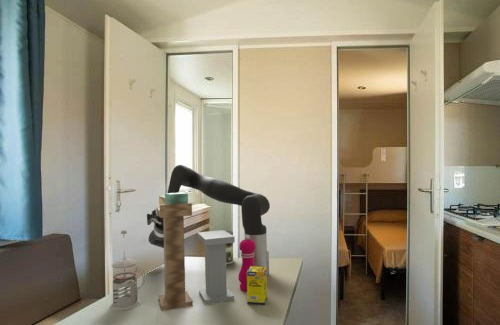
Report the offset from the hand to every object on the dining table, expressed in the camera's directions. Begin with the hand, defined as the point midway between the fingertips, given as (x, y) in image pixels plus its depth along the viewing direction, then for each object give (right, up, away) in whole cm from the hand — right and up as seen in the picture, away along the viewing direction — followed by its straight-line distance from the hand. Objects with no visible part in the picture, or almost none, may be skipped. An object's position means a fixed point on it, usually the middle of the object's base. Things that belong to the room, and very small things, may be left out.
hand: (166, 210), depth 137 cm
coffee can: (+20, -29, +29) cm, 45 cm away
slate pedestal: (+21, -28, -15) cm, 38 cm away
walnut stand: (+8, -28, -19) cm, 35 cm away
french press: (-8, -29, -20) cm, 36 cm away
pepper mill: (+32, -28, -8) cm, 44 cm away
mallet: (+5, +4, -15) cm, 16 cm away
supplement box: (+35, -28, -20) cm, 49 cm away
